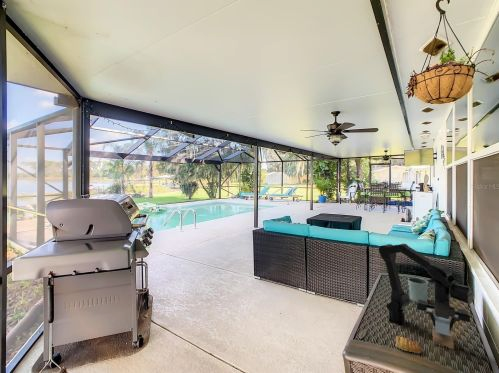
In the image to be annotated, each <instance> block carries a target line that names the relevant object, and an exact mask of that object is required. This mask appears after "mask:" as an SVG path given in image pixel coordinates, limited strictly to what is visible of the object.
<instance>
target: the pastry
mask: <svg viewBox="0 0 499 373" xmlns="http://www.w3.org/2000/svg"><path fill="white" fill-rule="evenodd" d="M395 347H396V348H397V349H398V348H399V349H398V350H400V349H401V350H400V351H403V350H405V351H409V352H414V353H413V354H415V353H417V354H422V347H421V346H420V345H418V344H417V343H416V342H414V341H412V340H411V339H408V338H405V337H403V336H398V335H397V336H396V340H395ZM405 351H404V352H405ZM409 352H408V353H409Z"/></svg>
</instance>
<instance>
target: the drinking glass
mask: <svg viewBox="0 0 499 373" xmlns="http://www.w3.org/2000/svg"><path fill="white" fill-rule="evenodd" d="M407 284H408V291H409V299H410V301H412V300H413V301H412V302H415V301H416V302H415V303H417V300H424V301H427V302H428V285H429V281H428V280H426V279H424V278H420V277H408V278H407Z"/></svg>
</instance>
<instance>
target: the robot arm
mask: <svg viewBox="0 0 499 373" xmlns="http://www.w3.org/2000/svg"><path fill="white" fill-rule="evenodd" d="M378 252H379V255H380V257H381V259H382V260H383V261H384V263H385V267H386V271H387V275H388V281H389V284H390V288H391V293H390V302H389V303H387V304H386V305H385V306H386V308H387V310H388V322H391V323H393V324H397V325H400V326H403V325H404V324H405V322H406V312H404V309H406V307H407V308H408V307H409V305H410V302H411V299H410V295H409V293H408V292H405V291H404V289H403V286H402V283H401V279H400V275H399V271H398V267H397V262H396V260H397V254H398V253H402V255H404V256H406V257H407V258H409V259H410V260H411V261H414V262H415V263H416V264H418V265H419V266H421V267H423V268H424V269H425V270H426V272H427V273H428V274H429V275H430V276H431V278H430V279H429V280H427V282H428V283H430V284H431V283H432V284H433V301H434V302H433V304H428V300H427V301H424V300H417V302H416V310H419V311H422V312H425V314H427V315H429V317H430V318H431V322H432V324H433V326H434V328H435V316H437V317H441V318H445V319H449V324H450V332H451V331H452V330H453V326H454V325H455V323H456V322H461V321H463V322H465V323H471V312H470V311H469V310H467V309H462V308H457V310H456V309H455V307H452V306H451V298H452V299H455V300H456V301H460V302H463V303H466V304H470V305H471V304H472V303H473V301H474V293H473V290H472V287H471V286H469V285H463V284H460V283H459V281H458V280H457V279H456V277H455V276H454V275H453V272H452V270H451V268H450V267H449V266H446V265H445V264H442V263H440V262H437V261H433V260H431V259H429V258H428V257H426V256H425V255H423V254H422V253H420V252H419V251H417V250H415V249H414V248H412V247H411V246H409V245H408V244H407V243H400V244H394V245H393V244H391V243H389V244H384V245H380V246H379V248H378Z"/></svg>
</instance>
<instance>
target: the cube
mask: <svg viewBox="0 0 499 373" xmlns="http://www.w3.org/2000/svg"><path fill="white" fill-rule="evenodd" d="M434 329H435V332H438V333H441V334H445V335H448V336H450V332H451V331H450V318H449V319H445V318H442V317H437V316H436V315H435V327H434Z"/></svg>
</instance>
